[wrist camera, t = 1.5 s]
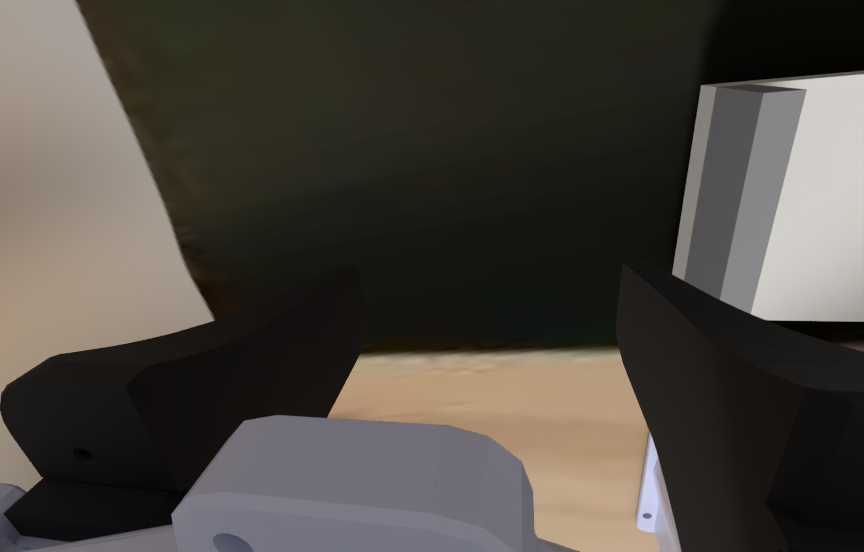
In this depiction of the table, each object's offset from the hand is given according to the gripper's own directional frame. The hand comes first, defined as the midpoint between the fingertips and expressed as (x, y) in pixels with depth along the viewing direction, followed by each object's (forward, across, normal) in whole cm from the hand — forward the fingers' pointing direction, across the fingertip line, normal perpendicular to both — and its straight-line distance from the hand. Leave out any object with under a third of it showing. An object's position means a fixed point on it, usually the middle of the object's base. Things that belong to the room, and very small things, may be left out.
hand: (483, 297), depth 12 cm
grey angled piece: (+9, -12, 0) cm, 16 cm away
